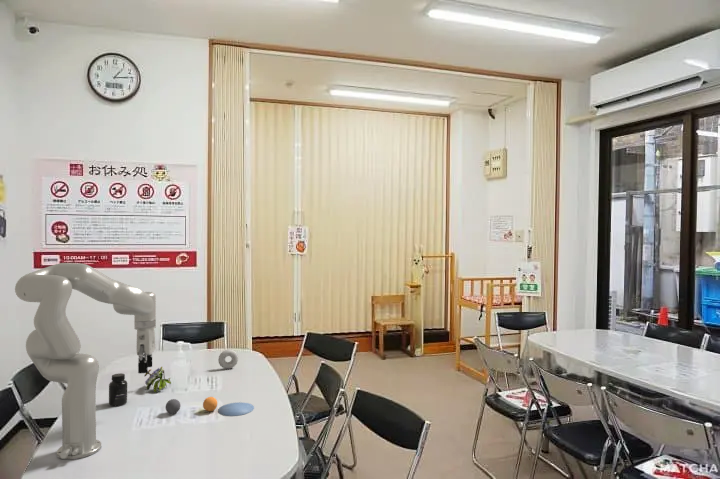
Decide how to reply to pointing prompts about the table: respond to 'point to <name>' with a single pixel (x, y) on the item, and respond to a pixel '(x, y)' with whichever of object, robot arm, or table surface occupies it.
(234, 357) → the donut
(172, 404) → the dark gray ball
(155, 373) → the passion flower
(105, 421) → the table surface
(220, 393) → the table surface
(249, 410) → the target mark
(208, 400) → the object ball
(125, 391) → the supplement bottle
